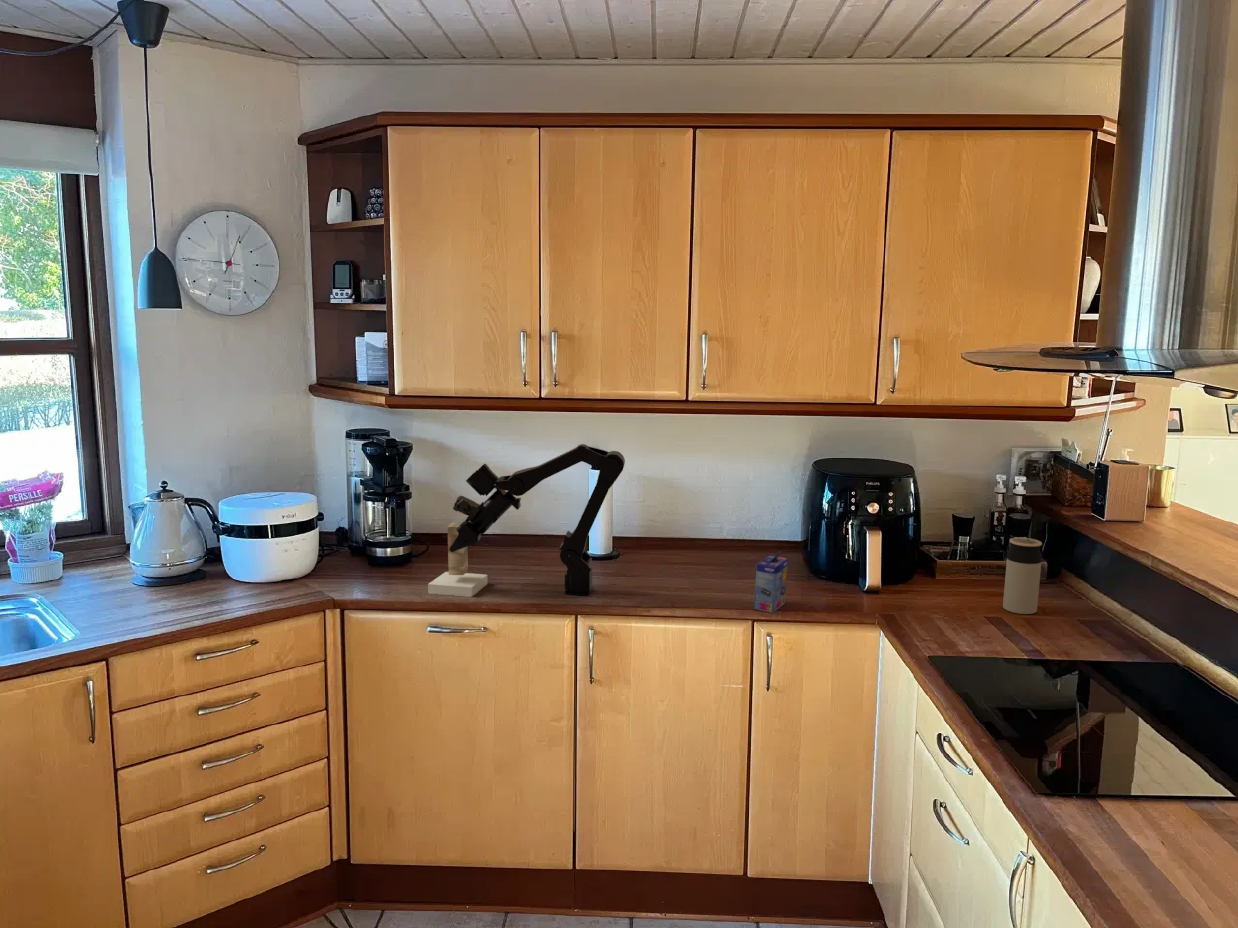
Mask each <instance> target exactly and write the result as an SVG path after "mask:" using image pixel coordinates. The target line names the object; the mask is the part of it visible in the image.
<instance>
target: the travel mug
mask: <svg viewBox="0 0 1238 928" xmlns="http://www.w3.org/2000/svg"><path fill="white" fill-rule="evenodd" d="M1009 543H1010V547H1009V549H1008V550H1007V554H1006V565H1005V567H1006V568H1005V579H1004V586H1003V587H1004V589H1003V600H1002V608H1003V609H1004V610H1005V611H1008V612H1010V613H1013V614H1017V615H1032V614H1036V613H1037V612H1038V603H1039V592H1040V581H1041V571H1042V559H1043V555H1042V552H1041V546H1042V545H1043V542H1042V541H1040V540H1038V539H1035V538H1028V537H1011V538H1009Z"/></svg>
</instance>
